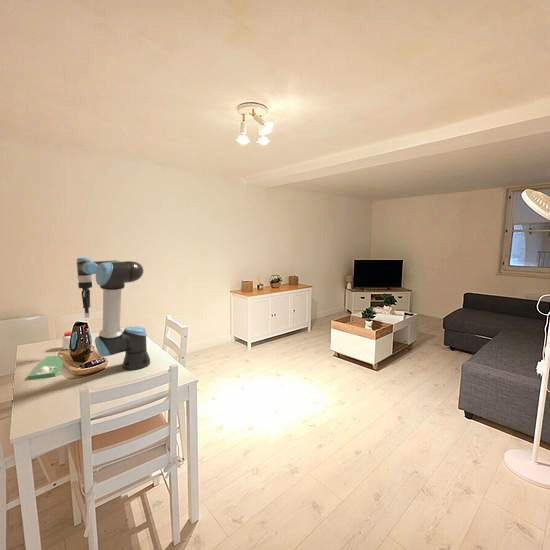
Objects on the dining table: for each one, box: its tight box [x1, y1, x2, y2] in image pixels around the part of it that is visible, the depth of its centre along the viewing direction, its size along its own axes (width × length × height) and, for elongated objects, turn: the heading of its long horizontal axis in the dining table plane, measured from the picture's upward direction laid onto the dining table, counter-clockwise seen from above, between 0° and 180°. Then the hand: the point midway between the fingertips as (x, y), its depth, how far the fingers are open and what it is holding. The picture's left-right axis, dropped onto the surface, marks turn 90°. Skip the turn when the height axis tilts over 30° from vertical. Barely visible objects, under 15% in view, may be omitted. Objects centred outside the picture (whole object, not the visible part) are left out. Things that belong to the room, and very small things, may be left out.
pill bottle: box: [61, 331, 72, 350], centre depth 207 cm, size 8×8×11 cm
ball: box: [40, 366, 49, 372], centre depth 168 cm, size 4×4×4 cm
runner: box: [28, 354, 64, 381], centre depth 177 cm, size 12×28×2 cm, turn 21°
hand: (87, 317), depth 196 cm, fingers closed
